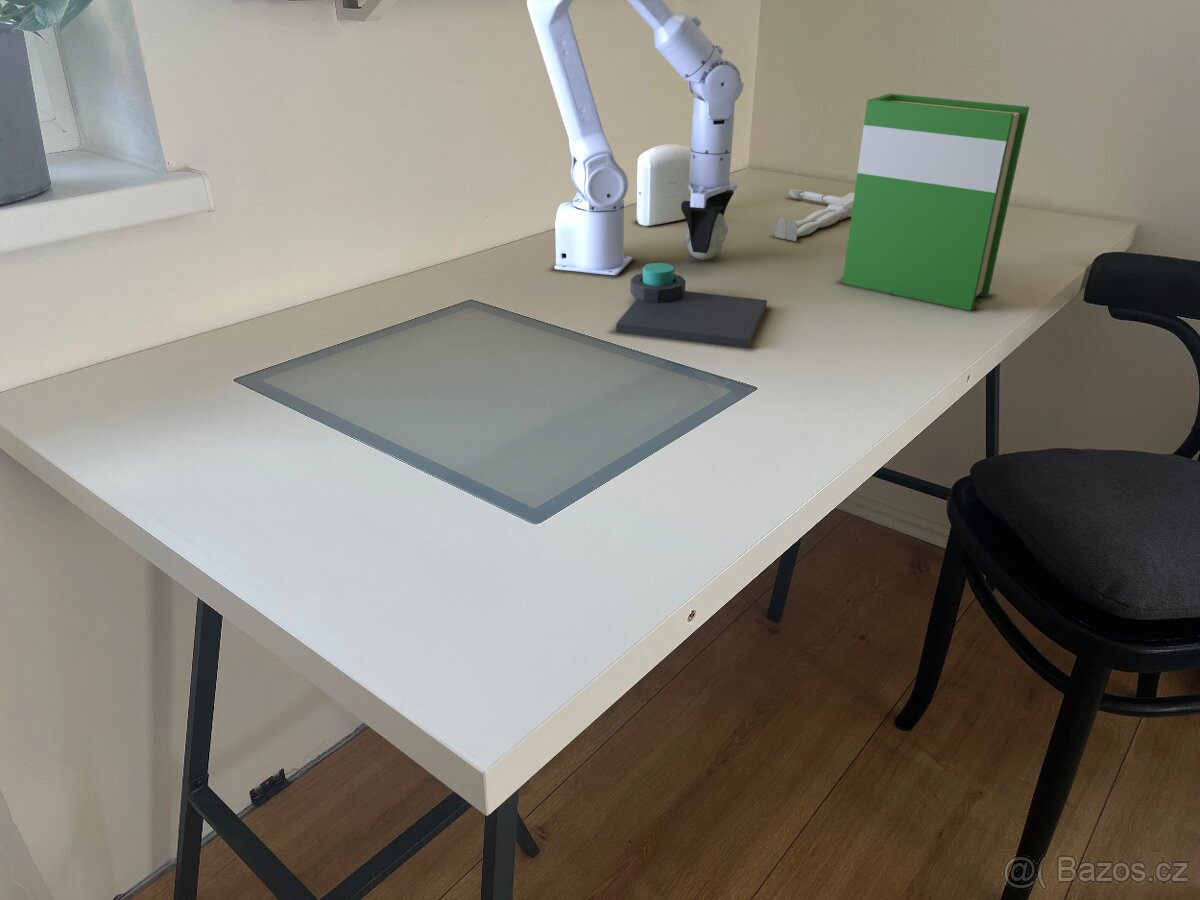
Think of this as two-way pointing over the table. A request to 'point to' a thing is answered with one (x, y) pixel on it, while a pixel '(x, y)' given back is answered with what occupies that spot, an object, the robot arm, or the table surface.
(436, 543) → the table surface
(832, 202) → the artist's mannequin
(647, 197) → the photo printer
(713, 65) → the robot arm
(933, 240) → the hardback book
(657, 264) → the button
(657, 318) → the scale
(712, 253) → the white rounded lumpy piece
